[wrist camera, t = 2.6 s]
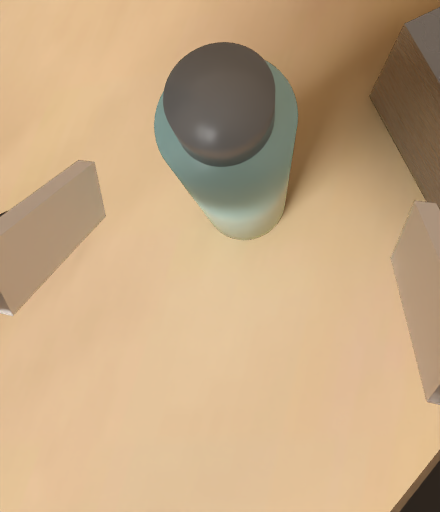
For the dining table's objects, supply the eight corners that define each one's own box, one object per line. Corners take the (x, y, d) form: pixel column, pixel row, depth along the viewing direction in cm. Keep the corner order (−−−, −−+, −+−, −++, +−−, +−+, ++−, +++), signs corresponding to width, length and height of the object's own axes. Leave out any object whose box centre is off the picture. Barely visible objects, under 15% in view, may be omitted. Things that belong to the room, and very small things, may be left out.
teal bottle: (194, 182, 24) (117, 63, 12) (265, 149, 23) (261, -7, 11) (223, 252, 23) (172, 200, 11) (298, 220, 22) (330, 129, 10)
